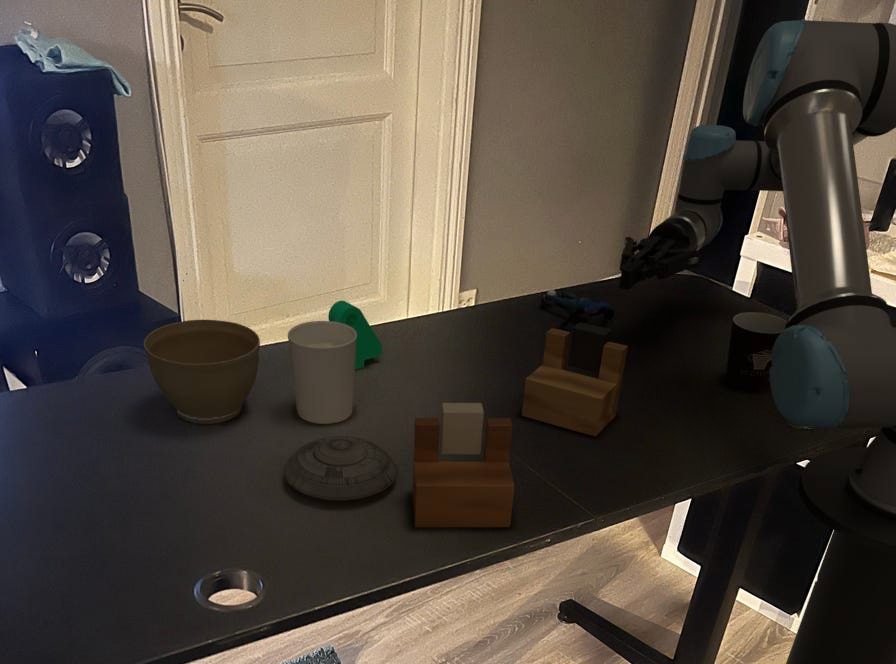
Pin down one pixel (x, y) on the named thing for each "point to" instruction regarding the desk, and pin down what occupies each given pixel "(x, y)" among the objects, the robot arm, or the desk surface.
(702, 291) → the desk surface
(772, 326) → the coffee mug
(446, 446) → the ivory key
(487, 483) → the near stand
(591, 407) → the far stand
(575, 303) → the person figurine
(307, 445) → the flying saucer
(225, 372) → the planter bowl
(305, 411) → the white tumbler cup
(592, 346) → the black block
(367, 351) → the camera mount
